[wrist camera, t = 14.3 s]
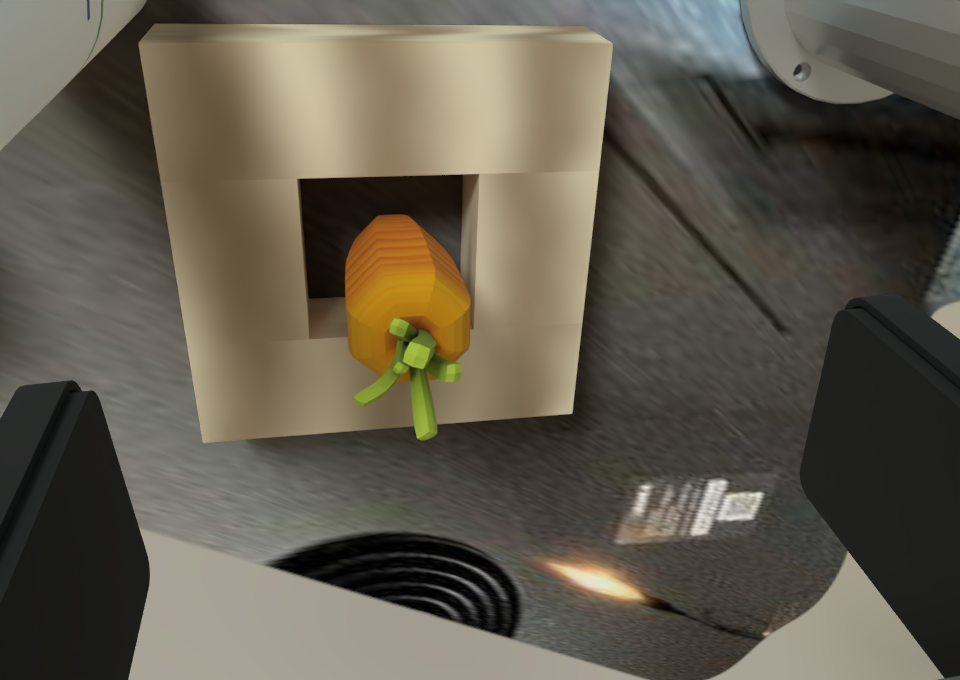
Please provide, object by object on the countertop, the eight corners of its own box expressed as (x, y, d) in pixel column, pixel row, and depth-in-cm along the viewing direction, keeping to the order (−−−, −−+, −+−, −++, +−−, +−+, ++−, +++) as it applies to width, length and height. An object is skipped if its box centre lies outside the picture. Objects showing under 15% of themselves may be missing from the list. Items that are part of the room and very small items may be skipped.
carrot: (416, 284, 42) (465, 472, 29) (320, 254, 40) (326, 439, 27) (455, 194, 40) (525, 353, 27) (355, 158, 38) (379, 309, 25)
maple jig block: (584, 26, 37) (613, 43, 33) (552, 371, 46) (572, 413, 42) (154, 23, 34) (138, 42, 30) (210, 395, 43) (203, 442, 39)
